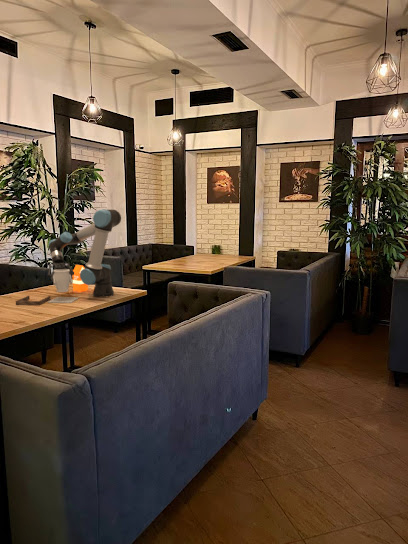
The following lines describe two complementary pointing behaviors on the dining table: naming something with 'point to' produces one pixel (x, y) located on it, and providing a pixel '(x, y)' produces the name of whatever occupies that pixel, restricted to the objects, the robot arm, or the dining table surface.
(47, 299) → the dark brown wooden board
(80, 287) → the orange juice
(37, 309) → the dining table surface
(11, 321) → the dining table surface
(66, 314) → the dining table surface
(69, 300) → the grey mat
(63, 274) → the jar
